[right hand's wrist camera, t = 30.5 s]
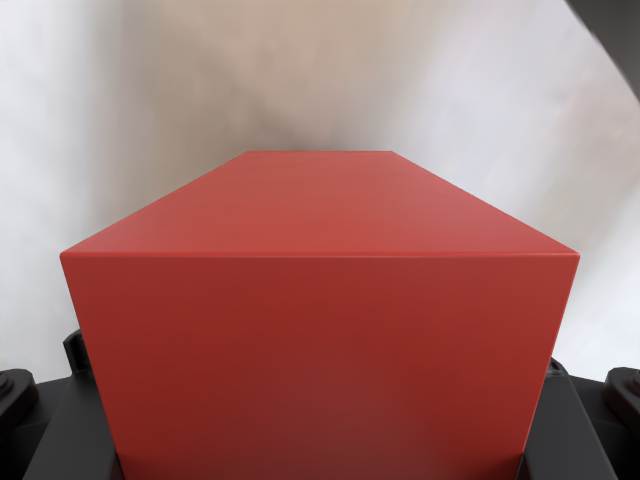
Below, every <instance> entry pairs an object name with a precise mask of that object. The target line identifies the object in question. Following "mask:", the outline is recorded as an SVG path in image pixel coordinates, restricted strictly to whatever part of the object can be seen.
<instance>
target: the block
mask: <svg viewBox="0 0 640 480" xmlns="http://www.w3.org/2000/svg"><path fill="white" fill-rule="evenodd" d="M579 259H580V254H579V253H578V252H576V251H574V250H572V249H570V248H569V247H567V246H565V245H563V244H561V243H559V242H558V241H556V240H554V239H552V238H550V237H548V236H547V235H545V234H543V233H541V232H539V231H537V230H536V229H534V228H532V227H530V226H528V225H526V224H524V223H523V222H521V221H519V220H517V219H515V218H513V217H512V216H510V215H508V214H506V213H504V212H502V211H501V210H499V209H497V208H495V207H493V206H491V205H490V204H488V203H486V202H484V201H482V200H480V199H479V198H477V197H475V196H473V195H471V194H469V193H468V192H466V191H464V190H462V189H460V188H458V187H457V186H455V185H453V184H451V183H449V182H447V181H446V180H444V179H442V178H440V177H438V176H436V175H434V174H433V173H431V172H429V171H427V170H425V169H423V168H422V167H420V166H418V165H416V164H414V163H412V162H411V161H409V160H407V159H405V158H403V157H401V156H400V155H398V154H396V153H394V152H392V151H248V152H246V153H244V154H242V155H240V156H238V157H237V158H235V159H233V160H231V161H229V162H227V163H226V164H224V165H222V166H220V167H218V168H216V169H214V170H213V171H211V172H209V173H207V174H205V175H203V176H202V177H200V178H198V179H196V180H194V181H192V182H191V183H189V184H187V185H185V186H183V187H181V188H179V189H178V190H176V191H174V192H172V193H170V194H168V195H167V196H165V197H163V198H161V199H159V200H157V201H156V202H154V203H152V204H150V205H148V206H146V207H144V208H143V209H141V210H139V211H137V212H135V213H133V214H132V215H130V216H128V217H126V218H124V219H122V220H120V221H119V222H117V223H115V224H113V225H111V226H109V227H108V228H106V229H104V230H102V231H100V232H98V233H97V234H95V235H93V236H91V237H89V238H87V239H85V240H84V241H82V242H80V243H78V244H76V245H74V246H73V247H71V248H69V249H67V250H65V251H63V252H62V253H61V254H60V260H61V264H62V267H63V271H64V274H65V278H66V281H67V285H68V288H69V291H70V295H71V298H72V302H73V305H74V309H75V312H76V315H77V319H78V322H79V326H80V329H81V333H82V336H83V339H84V343H85V346H86V350H87V353H88V357H89V360H90V363H91V367H92V370H93V374H94V377H95V381H96V384H97V388H98V391H99V394H100V398H101V401H102V405H103V408H104V412H105V415H106V418H107V422H108V425H109V429H110V432H111V436H112V439H113V442H114V446H115V449H116V453H117V456H118V460H119V463H120V466H121V470H122V473H123V477H124V480H515V479H516V475H517V472H518V469H519V465H520V462H521V458H522V455H523V451H524V448H525V445H526V441H527V438H528V434H529V431H530V427H531V424H532V421H533V417H534V414H535V410H536V407H537V403H538V400H539V397H540V393H541V390H542V386H543V383H544V379H545V376H546V373H547V369H548V366H549V362H550V359H551V355H552V352H553V349H554V345H555V342H556V338H557V335H558V331H559V328H560V325H561V321H562V318H563V314H564V311H565V307H566V304H567V301H568V297H569V294H570V290H571V287H572V283H573V280H574V277H575V273H576V270H577V266H578V263H579Z"/></svg>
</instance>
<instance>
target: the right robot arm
mask: <svg viewBox="0 0 640 480" xmlns="http://www.w3.org/2000/svg"><path fill="white" fill-rule="evenodd" d="M63 345H64V348H65V351H66V354H67V357H68V360H69V364H70V367H71V370H72V375H71V377H67V378H63V379H58V380H53V381H48V382H44V383H39V384H35V381H34V378H33V375H32V373H31V372H29V371H28V370H26V369H11V370H5V371H0V480H124V477H123V473H122V470H121V466H120V463H119V460H118V456H117V453H116V449H115V446H114V442H113V439H112V436H111V432H110V429H109V425H108V422H107V418H106V415H105V412H104V408H103V405H102V401H101V398H100V394H99V391H98V388H97V384H96V381H95V377H94V374H93V370H92V367H91V363H90V360H89V357H88V353H87V350H86V346H85V343H84V339H83V336H82V333H81V329H78V330H77V331H75V332H74V333H72V334H71V335H69V336H68V337H67V338H66V340H65V341H64V342H63ZM515 480H640V370H639V369H633V368H627V367H619V368H613V369H612V370H610V371H609V372H608V374H607V377H606V380H605V383H604V382H599V381H594V380H589V379H585V378H580V377H575V376H571V375H569V374H568V372H567V371H566V370H565V368H564V367H563V366H562V364H560V363H559V362H558V361H556V360H555V359H553V358H552V357H551V359H550V362H549V366H548V369H547V373H546V376H545V379H544V383H543V386H542V390H541V393H540V397H539V400H538V403H537V407H536V410H535V414H534V417H533V421H532V424H531V427H530V431H529V434H528V438H527V441H526V445H525V448H524V451H523V455H522V458H521V462H520V465H519V469H518V472H517V475H516V479H515Z"/></svg>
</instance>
